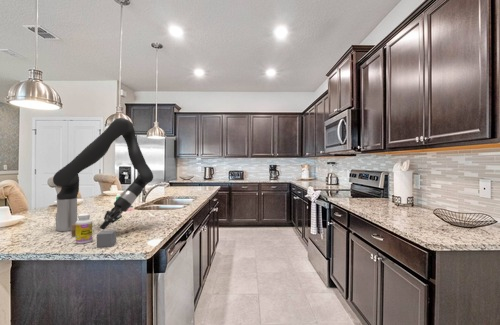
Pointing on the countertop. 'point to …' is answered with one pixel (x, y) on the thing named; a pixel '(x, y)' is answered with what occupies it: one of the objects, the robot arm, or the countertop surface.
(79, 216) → the supplement bottle
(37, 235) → the countertop surface
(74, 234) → the walnut block
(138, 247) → the countertop surface
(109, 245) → the charcoal block
